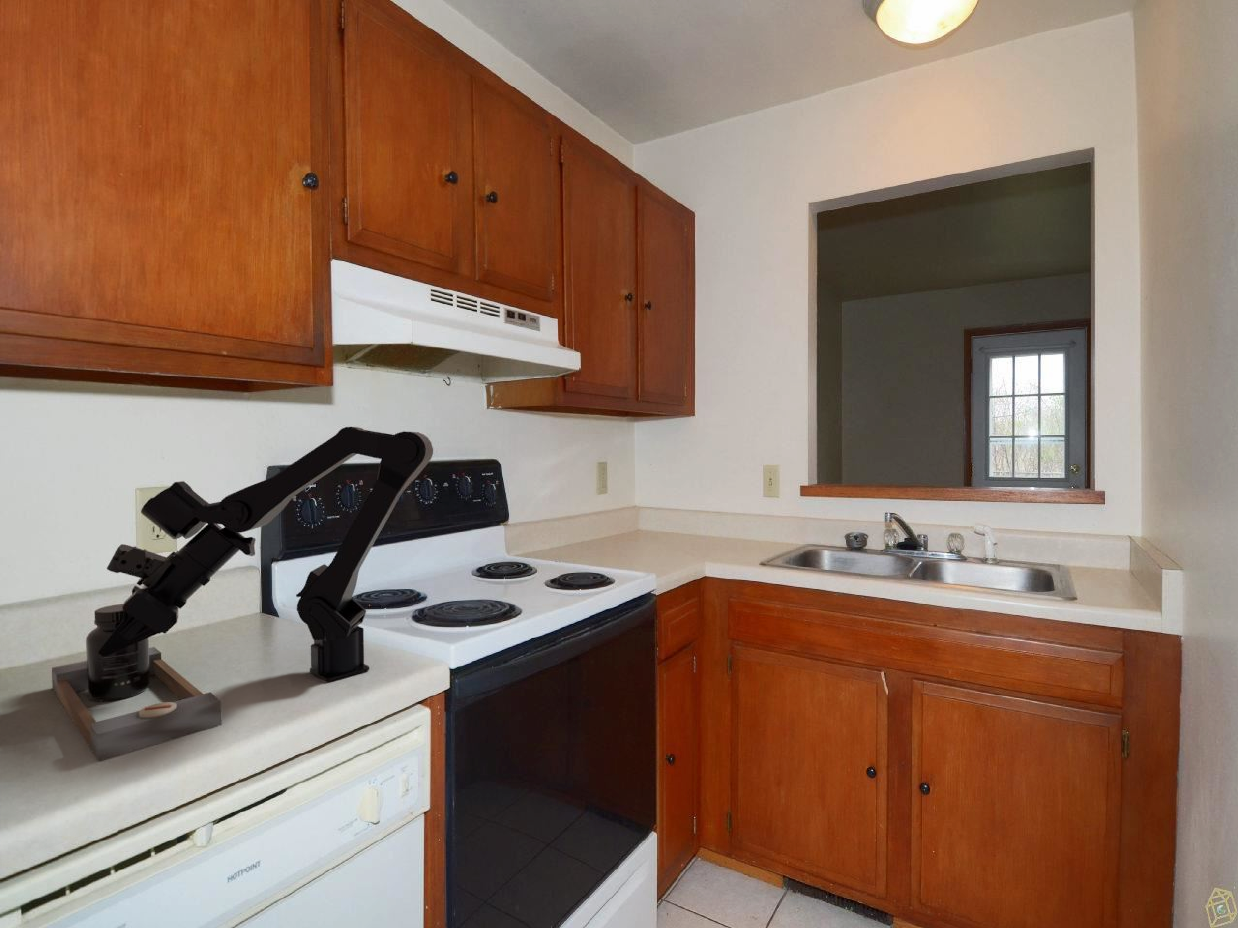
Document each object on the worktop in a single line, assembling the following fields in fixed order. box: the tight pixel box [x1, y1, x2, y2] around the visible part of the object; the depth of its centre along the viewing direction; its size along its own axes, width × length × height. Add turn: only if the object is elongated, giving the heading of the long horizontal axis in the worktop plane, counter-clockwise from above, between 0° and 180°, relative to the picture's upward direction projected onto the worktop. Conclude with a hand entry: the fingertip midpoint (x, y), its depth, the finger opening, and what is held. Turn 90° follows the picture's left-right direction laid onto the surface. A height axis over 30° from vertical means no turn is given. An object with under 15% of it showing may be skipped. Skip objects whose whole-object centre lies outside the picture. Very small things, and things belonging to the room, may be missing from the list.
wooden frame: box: [51, 646, 222, 762], centre depth 85 cm, size 12×31×4 cm, turn 49°
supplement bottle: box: [85, 603, 151, 702], centre depth 89 cm, size 7×7×12 cm
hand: (105, 647), depth 88 cm, fingers closed on supplement bottle, 7 cm apart
